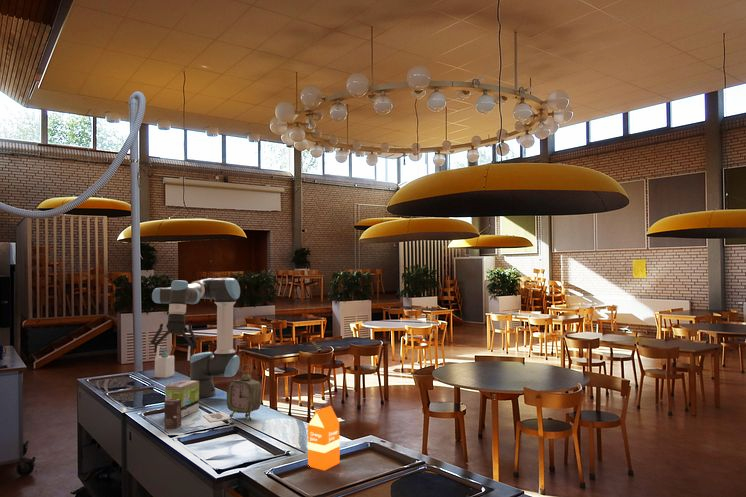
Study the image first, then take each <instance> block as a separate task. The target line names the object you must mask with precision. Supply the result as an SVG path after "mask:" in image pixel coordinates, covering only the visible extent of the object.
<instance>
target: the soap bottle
mask: <svg viewBox="0 0 746 497" xmlns="http://www.w3.org/2000/svg"><path fill="white" fill-rule="evenodd" d="M160 350H162V351H163V352H161V355H159V360H156V356H155V357H154V378H161V379H162V378H163V379H166V378H170V377H174V376H175V355H171V354H170V355H169V354H168V351H167V346H160Z"/></svg>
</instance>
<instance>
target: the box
mask: <svg viewBox="0 0 746 497" xmlns="http://www.w3.org/2000/svg"><path fill="white" fill-rule="evenodd" d="M181 426H182V418H181V399H168V400H166V401H165V400H164V428H167V429H169V428H171V429H178V428H180V427H181Z"/></svg>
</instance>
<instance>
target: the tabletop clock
mask: <svg viewBox="0 0 746 497" xmlns="http://www.w3.org/2000/svg"><path fill="white" fill-rule="evenodd" d="M245 366H246V367H249V369H250V371H248V370H246V369H245V370H244V371H243V370H242V368H243V367H245ZM239 370H240V372H241V373H243V374H242V375H241V376H240V378H239V379H234V380H231V381H229V382H228V384H227V388H226V406H227V409H228V410H229V411H232V413H230V414H229V416H230V417H231V418H232V419H233V417H234V414H235V413H237V414H244V417H245V418H247V421H248V422H250V421H252V418H251V413H252V412H254V411H257V410H259V409H260V407H261V404H262V396H263V394H262V393H263V388H262V387H263V386H262V383H261V382H260V381H258V380H256V379H253V378H251V375H250V374H251V373H252V372H253V367H252V366H251V365H249V364H246V363H245V364H242V365H240V366H239Z"/></svg>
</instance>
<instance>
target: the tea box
mask: <svg viewBox="0 0 746 497" xmlns="http://www.w3.org/2000/svg"><path fill="white" fill-rule="evenodd" d="M164 389H165V392H164V394H165V395H164V396H165V398H164V402H165V401H166V400H168V399H181V419H182V418H185V417H186V416H189V415H190V414H193V413H194V412H197V411H198V410H200V409H199V407H200V398H199V381H190V379H189V380H188V379H187V380H185V379H182V380H177V381H176V382H173V383H170V384H167V385H165V388H164Z"/></svg>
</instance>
